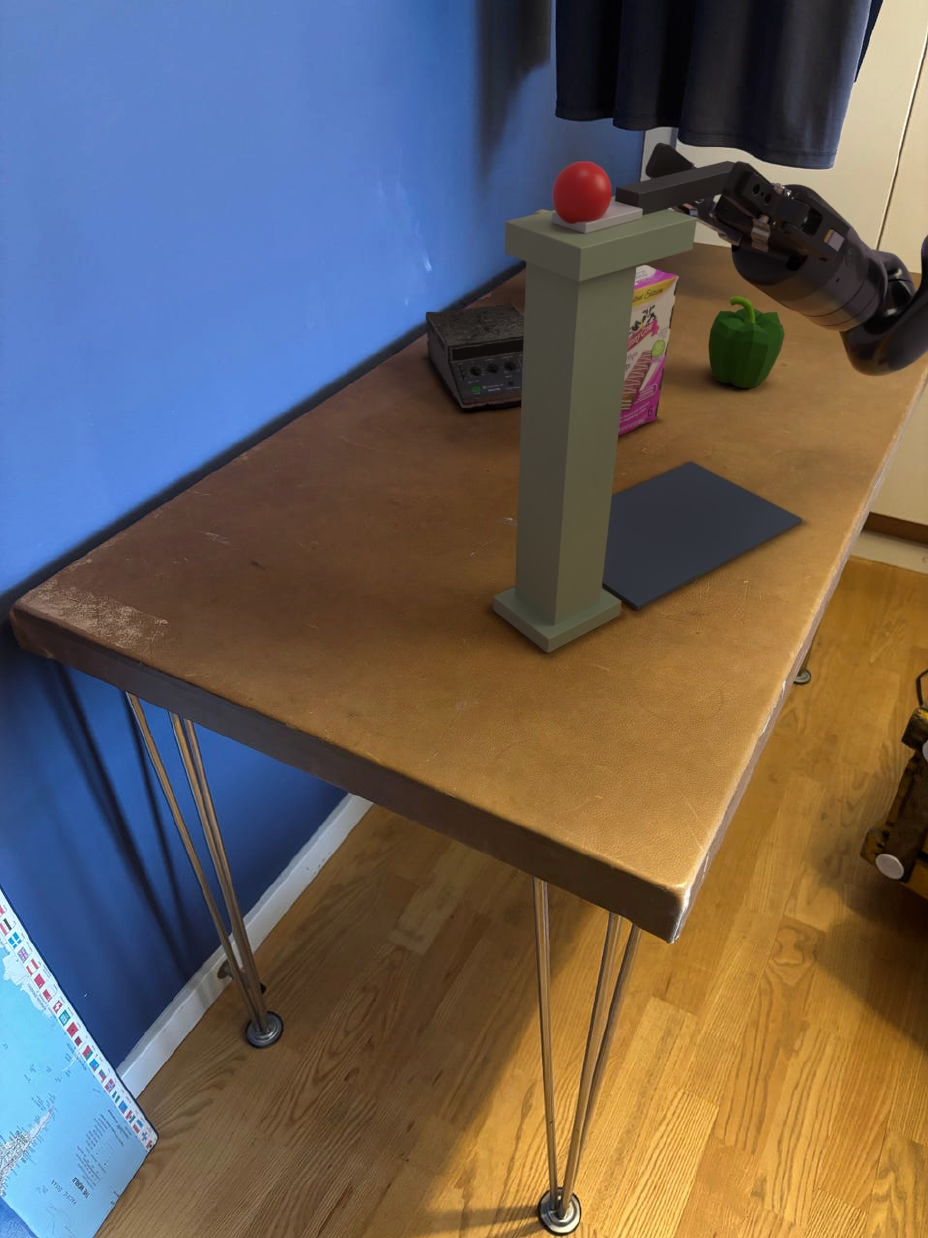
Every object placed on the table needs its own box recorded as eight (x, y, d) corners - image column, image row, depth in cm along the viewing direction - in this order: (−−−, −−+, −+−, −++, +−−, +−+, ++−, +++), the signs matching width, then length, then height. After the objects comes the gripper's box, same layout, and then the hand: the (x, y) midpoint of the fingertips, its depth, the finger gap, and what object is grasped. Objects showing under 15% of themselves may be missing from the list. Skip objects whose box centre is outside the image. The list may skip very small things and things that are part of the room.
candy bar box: (591, 452, 97) (605, 299, 87) (558, 435, 100) (568, 285, 90) (660, 420, 103) (681, 273, 93) (627, 405, 106) (643, 261, 96)
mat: (690, 465, 95) (690, 460, 95) (801, 523, 86) (802, 518, 86) (529, 536, 85) (529, 532, 85) (637, 610, 76) (637, 606, 76)
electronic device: (461, 416, 105) (460, 364, 101) (425, 356, 118) (423, 309, 114) (558, 402, 107) (560, 351, 103) (512, 345, 120) (513, 298, 116)
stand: (584, 565, 81) (619, 194, 62) (641, 604, 77) (697, 217, 57) (492, 610, 76) (498, 222, 57) (547, 653, 72) (574, 249, 53)
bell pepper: (785, 377, 112) (803, 295, 105) (755, 400, 107) (773, 316, 101) (722, 360, 116) (737, 280, 110) (691, 381, 111) (704, 300, 105)
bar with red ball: (714, 179, 65) (723, 122, 62) (756, 189, 62) (766, 131, 60) (538, 224, 57) (541, 160, 54) (578, 237, 54) (583, 172, 52)
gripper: (855, 327, 68) (750, 250, 56) (708, 277, 77) (591, 200, 65) (910, 227, 66) (812, 124, 54) (751, 187, 75) (638, 91, 63)
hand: (692, 167), depth 60 cm, fingers open, 6 cm apart
